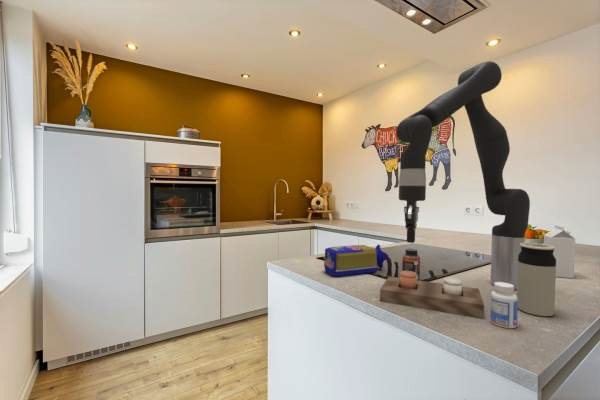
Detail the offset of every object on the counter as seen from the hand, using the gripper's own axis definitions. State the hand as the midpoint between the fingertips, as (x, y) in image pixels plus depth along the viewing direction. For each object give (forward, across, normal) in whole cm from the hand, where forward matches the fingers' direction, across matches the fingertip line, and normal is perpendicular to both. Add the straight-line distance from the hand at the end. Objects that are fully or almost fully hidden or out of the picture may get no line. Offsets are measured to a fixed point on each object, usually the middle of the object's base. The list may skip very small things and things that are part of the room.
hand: (410, 242), depth 88 cm
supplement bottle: (+17, +18, +1) cm, 25 cm away
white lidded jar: (+15, 0, -11) cm, 19 cm away
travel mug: (+17, +5, -32) cm, 36 cm away
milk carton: (+17, +51, -49) cm, 73 cm away
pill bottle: (+17, -8, -22) cm, 29 cm away
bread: (+17, +20, +22) cm, 35 cm away
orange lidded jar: (+14, 0, +1) cm, 14 cm away
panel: (+17, 0, -6) cm, 18 cm away
